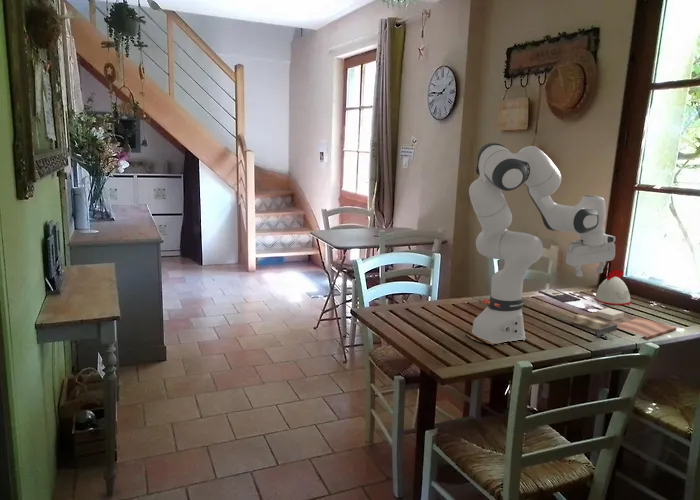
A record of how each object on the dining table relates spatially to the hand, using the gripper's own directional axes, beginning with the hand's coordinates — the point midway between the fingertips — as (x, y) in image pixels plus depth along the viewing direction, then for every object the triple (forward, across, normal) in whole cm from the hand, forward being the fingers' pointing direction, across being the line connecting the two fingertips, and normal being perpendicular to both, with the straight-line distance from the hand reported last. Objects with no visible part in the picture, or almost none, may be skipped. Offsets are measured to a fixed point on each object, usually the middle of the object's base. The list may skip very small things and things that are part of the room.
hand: (589, 274), depth 198 cm
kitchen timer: (+22, +33, +20) cm, 45 cm away
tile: (+20, +15, +3) cm, 25 cm away
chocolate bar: (+22, +19, +38) cm, 48 cm away
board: (+21, +16, -4) cm, 27 cm away
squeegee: (+21, -1, -2) cm, 21 cm away
